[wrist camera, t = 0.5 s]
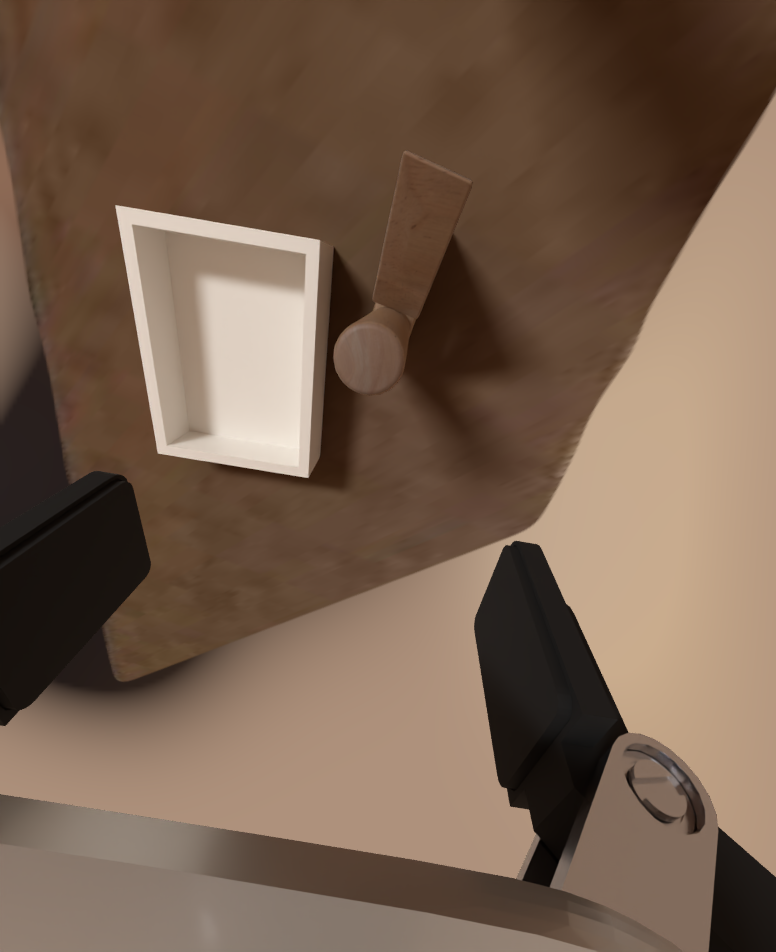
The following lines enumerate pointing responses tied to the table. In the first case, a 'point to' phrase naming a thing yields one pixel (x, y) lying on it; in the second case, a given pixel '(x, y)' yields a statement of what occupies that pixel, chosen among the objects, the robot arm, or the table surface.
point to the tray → (230, 338)
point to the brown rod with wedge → (402, 274)
